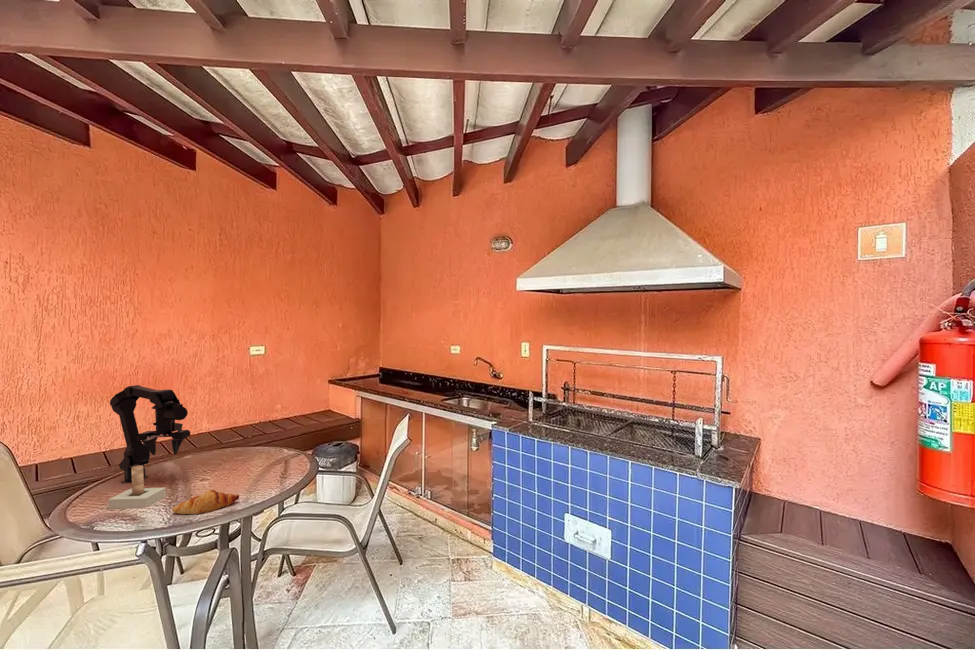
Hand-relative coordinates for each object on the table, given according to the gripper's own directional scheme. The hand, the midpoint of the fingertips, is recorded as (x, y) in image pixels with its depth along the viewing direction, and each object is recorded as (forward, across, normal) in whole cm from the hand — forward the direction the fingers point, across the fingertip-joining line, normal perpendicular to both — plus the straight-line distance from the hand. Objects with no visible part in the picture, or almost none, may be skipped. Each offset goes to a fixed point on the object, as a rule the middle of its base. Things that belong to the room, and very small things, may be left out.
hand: (164, 454), depth 175 cm
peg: (+13, -3, +18) cm, 22 cm away
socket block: (+13, -3, +18) cm, 22 cm away
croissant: (+14, -34, +25) cm, 44 cm away
